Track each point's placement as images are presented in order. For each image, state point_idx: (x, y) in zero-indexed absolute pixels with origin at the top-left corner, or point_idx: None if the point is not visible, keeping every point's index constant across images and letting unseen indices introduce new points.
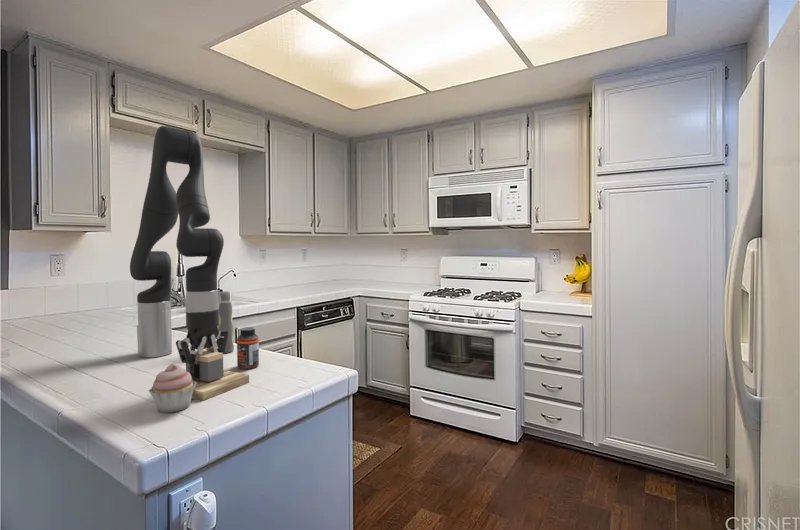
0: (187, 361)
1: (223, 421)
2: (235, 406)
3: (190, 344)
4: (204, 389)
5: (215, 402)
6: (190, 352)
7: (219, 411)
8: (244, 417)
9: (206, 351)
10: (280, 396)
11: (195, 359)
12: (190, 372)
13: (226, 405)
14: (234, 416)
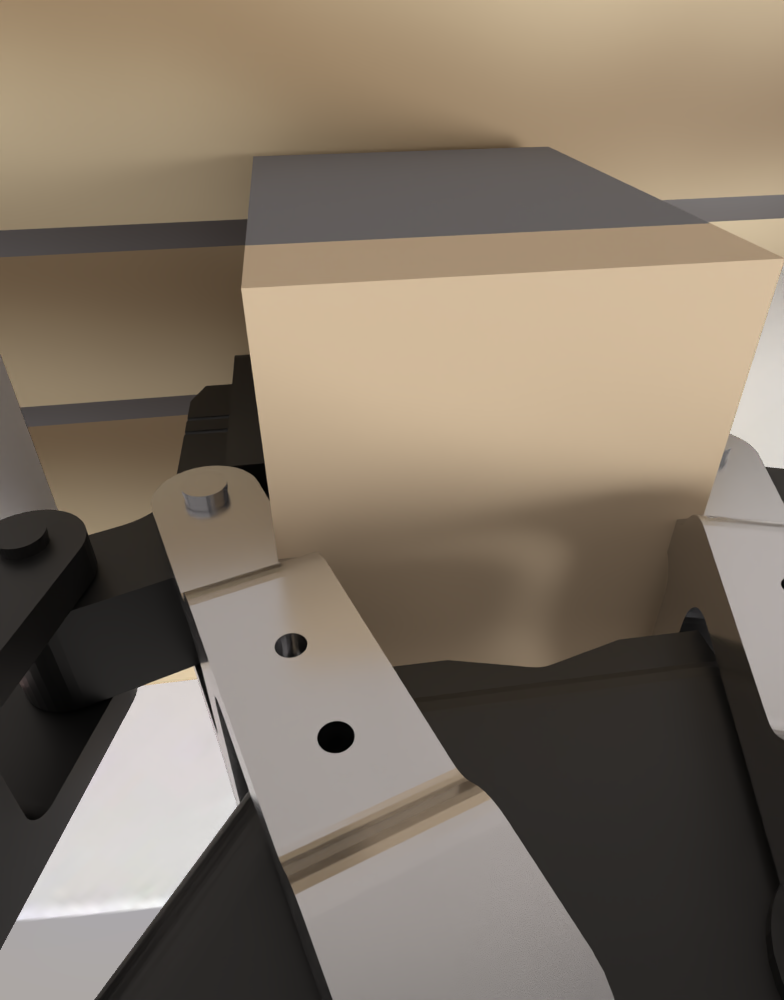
0: (21, 706)
1: (52, 891)
2: (221, 808)
3: (249, 770)
4: None
5: (180, 701)
6: (197, 642)
7: (110, 807)
8: (157, 906)
9: (645, 532)
10: None
11: (202, 691)
12: (188, 433)
13: (196, 772)
14: (130, 881)
